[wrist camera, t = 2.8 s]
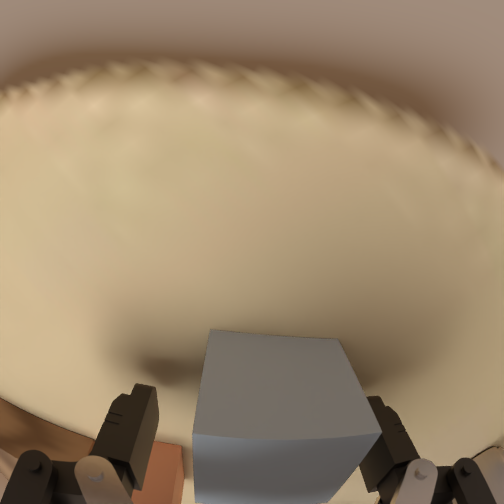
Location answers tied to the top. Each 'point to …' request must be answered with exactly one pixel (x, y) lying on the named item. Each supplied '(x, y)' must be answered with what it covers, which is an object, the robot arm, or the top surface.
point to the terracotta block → (162, 476)
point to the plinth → (36, 439)
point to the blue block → (277, 420)
